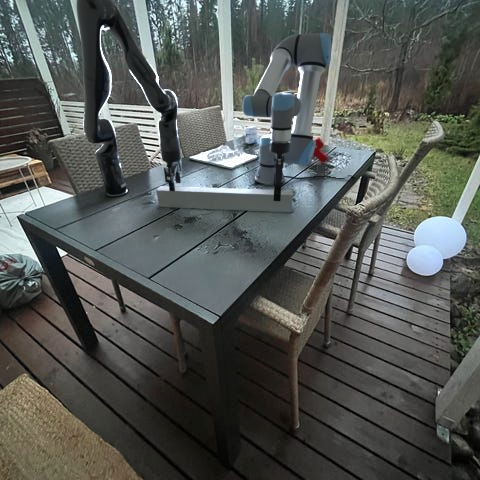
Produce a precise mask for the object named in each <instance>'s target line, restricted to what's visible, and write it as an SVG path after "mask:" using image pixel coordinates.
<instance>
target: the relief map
mask: <svg viewBox="0 0 480 480" xmlns="http://www.w3.org/2000/svg"><path fill="white" fill-rule="evenodd" d="M256 159H258V155H256V154H249V153H246V152H245V151H244V149H242V148H238V149H235V150H233V149H231V148H230V147H229V146H228V145H227V144H225V145H224V144H221V145H220V146H219V147H216V148H213V149H210V150H208V151H204V152H202V151H201V152H200V153H198V154H196V155H192V156H189V160H193V161H196V162H201V163H204V164H209V165H214V166H217V167H222V168H226V169H230V170H233V169H235V168H237V167H240V166H241V165H244V164H247V163H250V162H252V161H254V160H256Z"/></svg>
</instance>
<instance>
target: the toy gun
mask: <svg viewBox="0 0 480 480" xmlns="http://www.w3.org/2000/svg"><path fill="white" fill-rule="evenodd" d="M314 140H315V141H316V144H315V149H314V153H313V156H312V158H311V160H313V159H314V158H316V159H317V160H319V161H320V163H321V162H324V163H325V161H326V163H327V162H328V159H329V156H328V155H327V154H326V153H325V152H323V151H322V150H321V149H323V147H324V145H325V143H324V142H323V140H322V138H321V137H320V136H318V137H316V138H314ZM324 163H321V165H323V164H324Z"/></svg>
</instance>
